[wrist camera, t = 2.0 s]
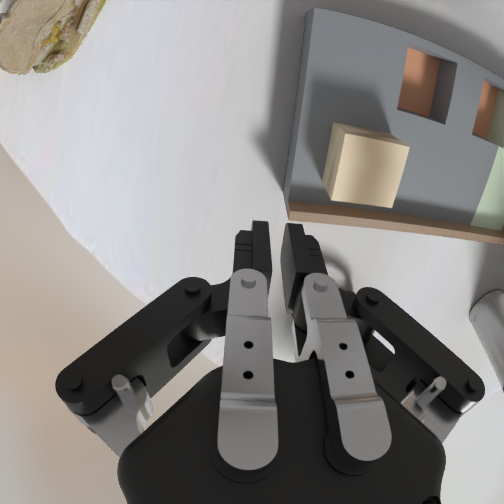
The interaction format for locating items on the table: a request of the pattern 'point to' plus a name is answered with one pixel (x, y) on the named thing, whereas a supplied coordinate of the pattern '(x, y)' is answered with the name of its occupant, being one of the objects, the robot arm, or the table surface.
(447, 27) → the table surface
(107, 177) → the table surface
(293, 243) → the robot arm
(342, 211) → the board
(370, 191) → the maple block
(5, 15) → the ceramic model
